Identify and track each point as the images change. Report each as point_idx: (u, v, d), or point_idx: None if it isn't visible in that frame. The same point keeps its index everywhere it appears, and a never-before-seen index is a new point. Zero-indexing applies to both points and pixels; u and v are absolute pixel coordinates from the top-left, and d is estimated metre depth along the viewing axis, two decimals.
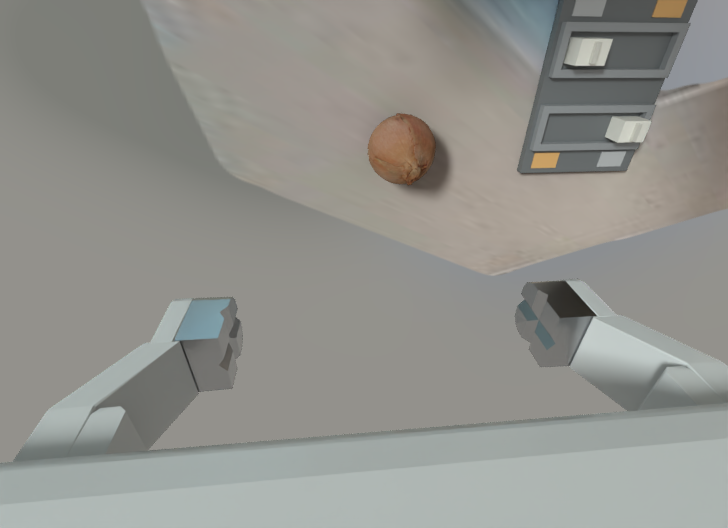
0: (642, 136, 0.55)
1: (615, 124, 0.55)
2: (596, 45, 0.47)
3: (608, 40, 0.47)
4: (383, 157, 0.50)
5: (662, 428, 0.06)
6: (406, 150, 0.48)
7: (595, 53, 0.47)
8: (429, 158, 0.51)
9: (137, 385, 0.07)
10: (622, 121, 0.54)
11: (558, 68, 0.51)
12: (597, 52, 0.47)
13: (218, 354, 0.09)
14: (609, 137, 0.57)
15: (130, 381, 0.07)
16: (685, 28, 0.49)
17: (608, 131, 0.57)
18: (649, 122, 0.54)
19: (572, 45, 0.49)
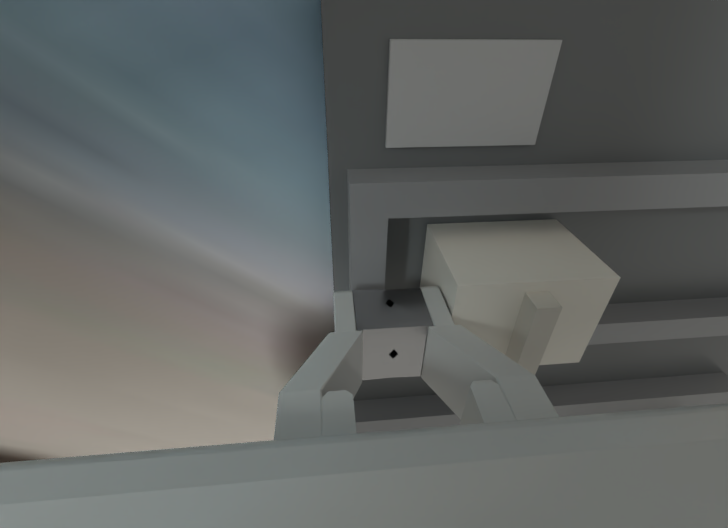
0: None
1: None
2: (529, 315, 0.09)
3: (596, 284, 0.09)
4: None
5: (662, 428, 0.06)
6: None
7: (528, 346, 0.09)
8: None
9: (340, 371, 0.08)
10: None
11: None
12: (539, 343, 0.09)
13: (391, 344, 0.09)
14: None
15: (337, 367, 0.08)
16: None
17: None
18: None
19: (433, 267, 0.11)
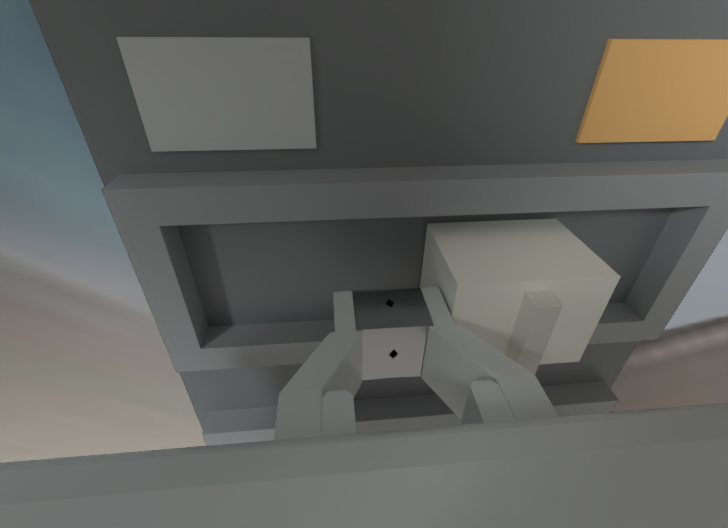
0: None
1: None
2: (529, 314, 0.09)
3: (596, 283, 0.09)
4: None
5: (662, 428, 0.06)
6: None
7: (528, 345, 0.09)
8: None
9: (340, 371, 0.08)
10: None
11: (187, 346, 0.12)
12: (539, 342, 0.09)
13: (391, 344, 0.09)
14: None
15: (337, 367, 0.08)
16: None
17: None
18: None
19: (433, 266, 0.11)
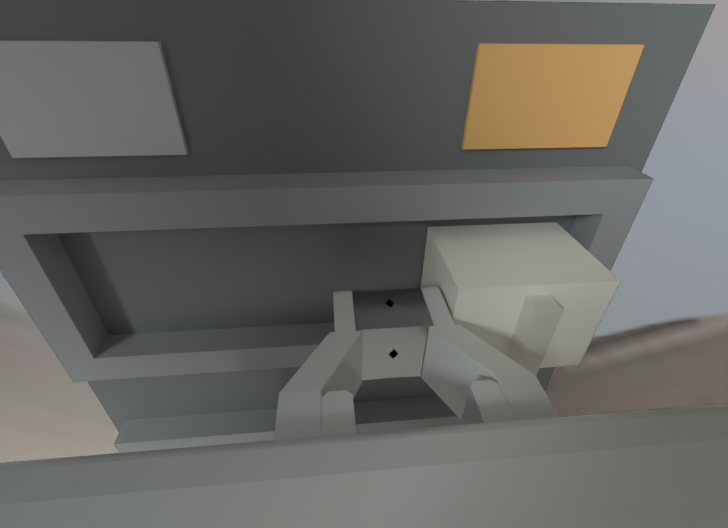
0: None
1: None
2: (530, 318, 0.09)
3: (597, 287, 0.09)
4: None
5: (662, 428, 0.06)
6: None
7: (529, 349, 0.09)
8: None
9: (340, 371, 0.08)
10: None
11: (79, 356, 0.12)
12: (540, 346, 0.09)
13: (391, 344, 0.09)
14: None
15: (338, 367, 0.08)
16: (629, 198, 0.10)
17: None
18: None
19: (433, 270, 0.11)
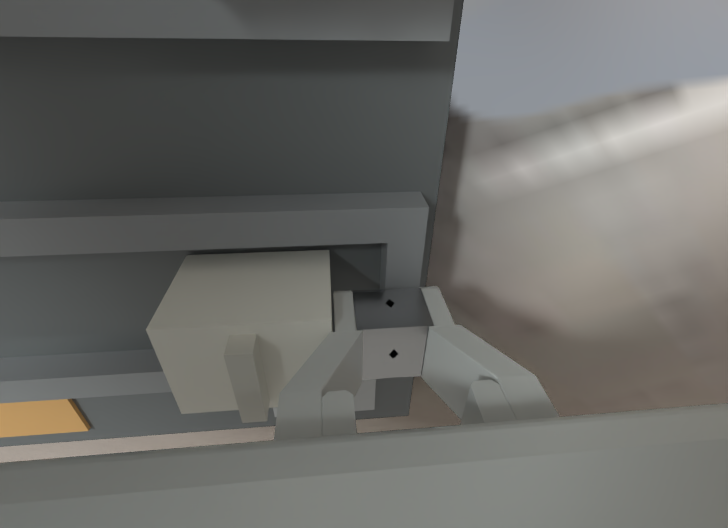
0: None
1: None
2: None
3: None
4: None
5: (662, 428, 0.06)
6: None
7: None
8: None
9: (340, 371, 0.08)
10: None
11: None
12: None
13: (391, 343, 0.09)
14: None
15: (338, 367, 0.08)
16: None
17: None
18: (320, 326, 0.09)
19: None
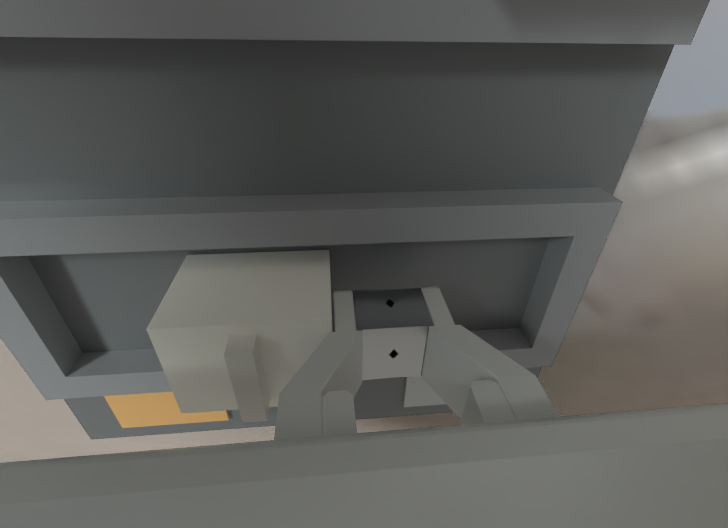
0: None
1: None
2: None
3: None
4: None
5: (662, 428, 0.06)
6: None
7: None
8: None
9: (340, 371, 0.08)
10: None
11: None
12: None
13: (391, 344, 0.09)
14: None
15: (338, 367, 0.08)
16: None
17: None
18: (320, 326, 0.09)
19: None
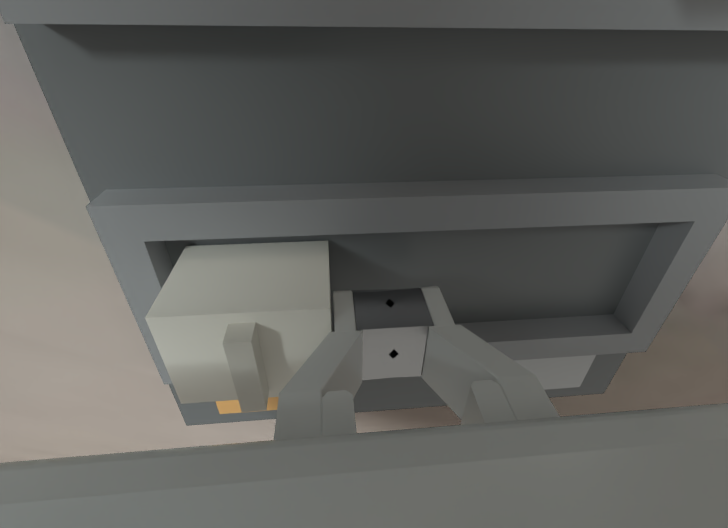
0: None
1: None
2: None
3: None
4: None
5: (662, 428, 0.06)
6: None
7: None
8: None
9: (340, 371, 0.08)
10: None
11: None
12: None
13: (391, 344, 0.09)
14: None
15: (338, 367, 0.08)
16: None
17: None
18: (318, 315, 0.09)
19: None
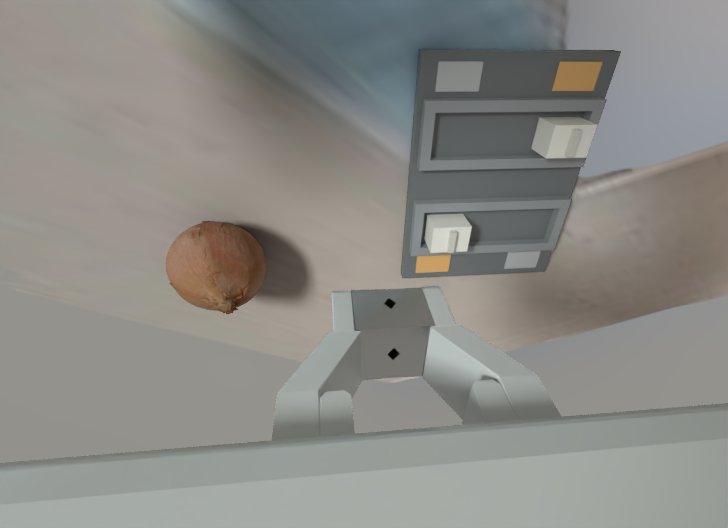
0: (463, 244, 0.40)
1: (428, 227, 0.40)
2: (573, 133, 0.34)
3: (591, 126, 0.34)
4: (176, 286, 0.35)
5: (662, 428, 0.06)
6: (202, 281, 0.34)
7: (573, 143, 0.34)
8: (246, 285, 0.36)
9: (338, 371, 0.08)
10: (432, 226, 0.39)
11: (426, 159, 0.36)
12: (576, 143, 0.34)
13: (390, 344, 0.09)
14: (426, 242, 0.41)
15: (336, 367, 0.08)
16: (600, 106, 0.35)
17: (425, 233, 0.42)
18: (469, 228, 0.39)
19: (542, 129, 0.36)
